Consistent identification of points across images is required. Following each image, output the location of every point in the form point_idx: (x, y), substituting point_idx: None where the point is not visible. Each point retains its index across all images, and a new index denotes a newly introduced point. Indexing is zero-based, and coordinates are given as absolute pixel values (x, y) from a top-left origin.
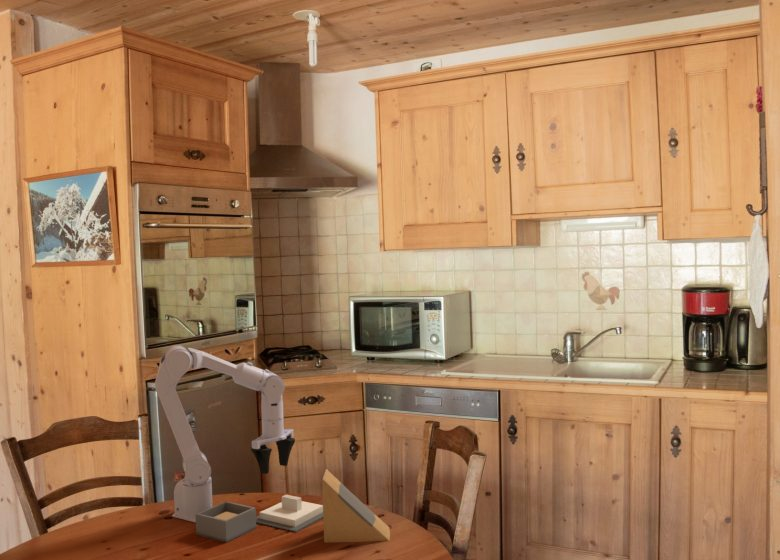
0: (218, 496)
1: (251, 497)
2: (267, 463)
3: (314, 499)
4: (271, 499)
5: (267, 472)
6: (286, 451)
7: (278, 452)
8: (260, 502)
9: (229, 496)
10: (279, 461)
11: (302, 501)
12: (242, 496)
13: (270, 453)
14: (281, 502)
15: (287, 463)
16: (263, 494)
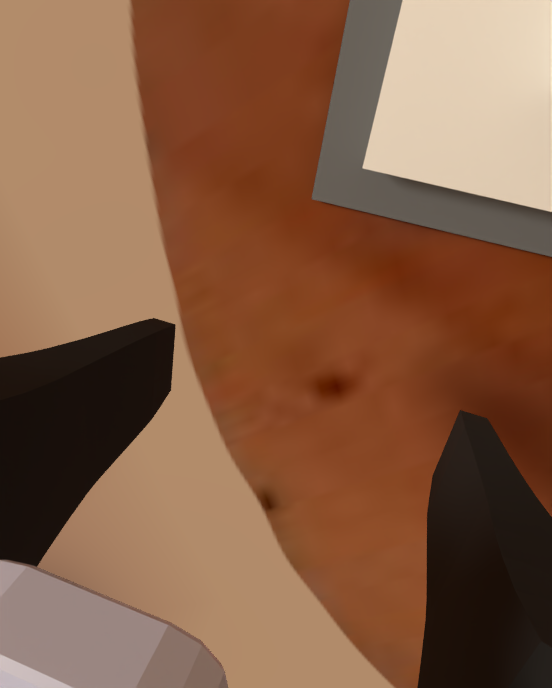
0: (332, 585)
1: (297, 445)
2: (521, 491)
3: (197, 34)
4: (292, 331)
5: (480, 420)
6: (66, 398)
7: (88, 488)
8: (357, 372)
9: (317, 544)
10: (153, 414)
11: (408, 1)
12: (298, 490)
13: (512, 580)
14: (470, 183)
15: (143, 321)
16: (235, 403)
